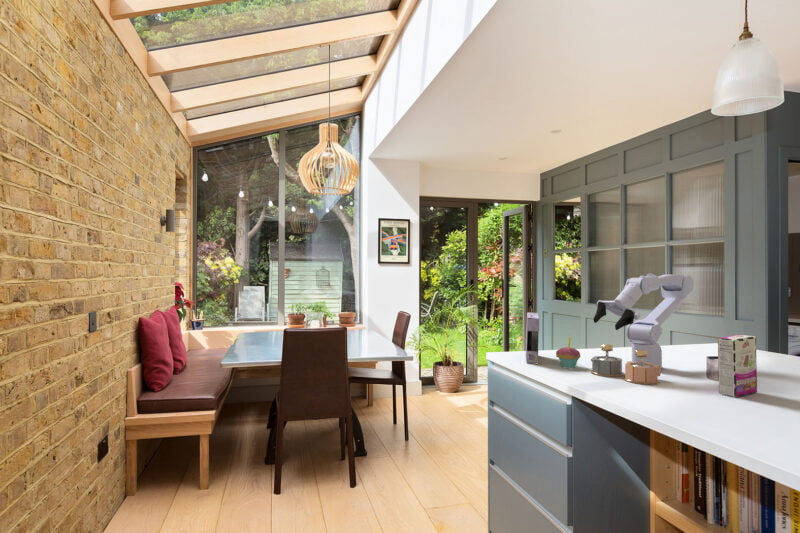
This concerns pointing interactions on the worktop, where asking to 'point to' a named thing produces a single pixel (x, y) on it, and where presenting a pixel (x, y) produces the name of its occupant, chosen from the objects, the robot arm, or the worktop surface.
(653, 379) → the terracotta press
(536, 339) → the cake pan box
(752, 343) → the candy bar box
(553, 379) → the worktop surface
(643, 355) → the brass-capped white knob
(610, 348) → the brass-capped silver knob
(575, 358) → the cupcake
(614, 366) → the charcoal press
